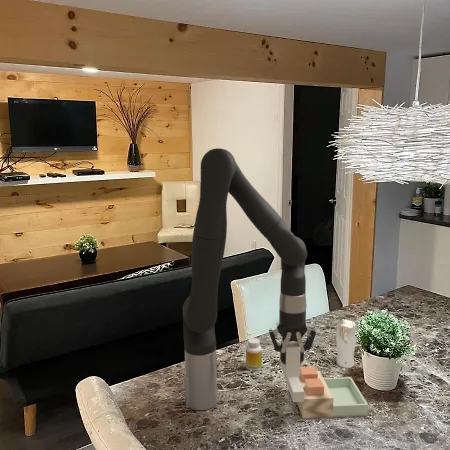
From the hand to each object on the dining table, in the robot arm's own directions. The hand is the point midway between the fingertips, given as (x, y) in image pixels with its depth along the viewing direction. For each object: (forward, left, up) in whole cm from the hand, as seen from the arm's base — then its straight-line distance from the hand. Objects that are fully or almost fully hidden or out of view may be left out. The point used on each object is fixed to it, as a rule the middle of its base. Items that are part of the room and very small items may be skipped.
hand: (291, 362), depth 133 cm
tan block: (+6, 0, -13) cm, 15 cm away
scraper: (0, 0, -6) cm, 6 cm away
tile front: (+6, -4, -7) cm, 10 cm away
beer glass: (+23, +22, -13) cm, 35 cm away
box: (+15, 0, -13) cm, 20 cm away
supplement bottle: (-9, +22, -13) cm, 28 cm away
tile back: (+6, +3, -7) cm, 10 cm away
